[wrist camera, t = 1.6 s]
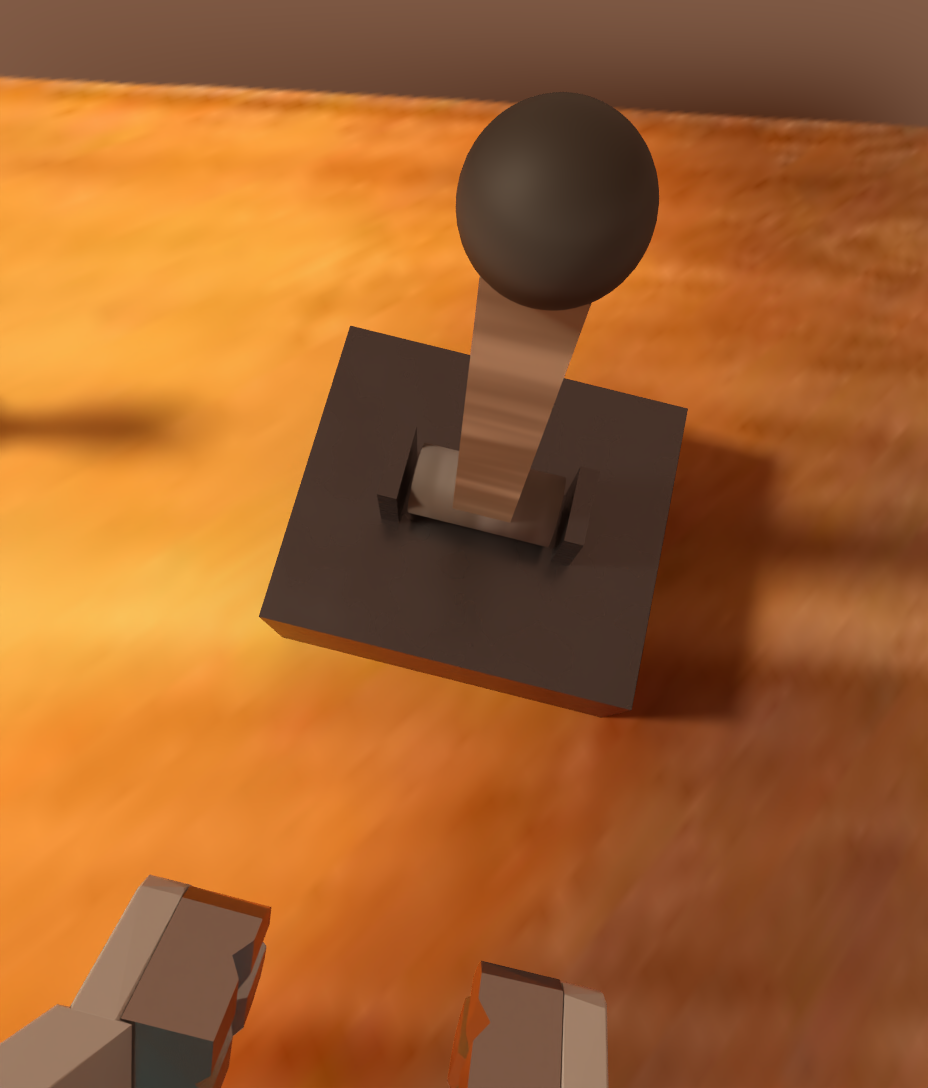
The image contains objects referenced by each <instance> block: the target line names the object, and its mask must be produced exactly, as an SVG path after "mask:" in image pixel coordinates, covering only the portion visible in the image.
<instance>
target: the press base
mask: <svg viewBox="0 0 928 1088" xmlns="http://www.w3.org/2000/svg"><path fill="white" fill-rule="evenodd" d="M469 363H470V355H467V354H463V353H459V352H455V351H451V350H447V349H443V348H439V347H435V346H431V345H427V344H423V343H418V342H414V341H410V340H406V339H402V338H398V337H394V336H390V335H386V334H382V333H378V332H374V331H370V330H366V329H362V328H357V327H353V326H350V328H349V332H348V335H347V338H346V341H345V344H344V348H343V351H342V354H341V357H340V360H339V363H338V367H337V370H336V373H335V376H334V379H333V383H332V386H331V389H330V392H329V395H328V398H327V402H326V405H325V408H324V411H323V414H322V417H321V421H320V424H319V427H318V430H317V433H316V437H315V440H314V443H313V446H312V449H311V452H310V456H309V459H308V462H307V465H306V468H305V472H304V475H303V478H302V481H301V484H300V487H299V491H298V494H297V497H296V500H295V503H294V507H293V510H292V513H291V516H290V519H289V522H288V526H287V529H286V532H285V535H284V538H283V541H282V545H281V548H280V551H279V554H278V557H277V561H276V564H275V567H274V570H273V573H272V576H271V580H270V583H269V586H268V589H267V592H266V596H265V599H264V602H263V605H262V608H261V611H260V615H259V617H260V618H261V619H262V620H263V621H265V622H266V623H267V624H268V625H269V626H270V627H271V628H273V629H274V630H275V631H276V632H277V633H278V634H279V635H281V636H282V637H284V638H288V639H292V640H296V641H300V642H304V643H308V644H312V645H316V646H320V647H324V648H328V649H331V650H335V651H339V652H343V653H347V654H351V655H355V656H359V657H363V658H367V659H371V660H375V661H379V662H383V663H387V664H391V665H395V666H399V667H403V668H407V669H411V670H415V671H419V672H423V673H427V674H431V675H435V676H439V677H443V678H447V679H451V680H455V681H459V682H462V683H466V684H470V685H474V686H478V687H482V688H486V689H490V690H494V691H498V692H502V693H506V694H510V695H514V696H518V697H522V698H526V699H530V700H534V701H538V702H542V703H546V704H550V705H554V706H558V707H562V708H566V709H570V710H574V711H578V712H582V713H586V714H590V715H594V716H597V717H605V716H609V715H614V714H618V713H622V712H626V711H631V710H632V705H633V699H634V694H635V689H636V683H637V678H638V673H639V667H640V662H641V657H642V651H643V646H644V641H645V635H646V630H647V625H648V619H649V614H650V608H651V603H652V598H653V592H654V587H655V582H656V576H657V571H658V566H659V560H660V555H661V550H662V544H663V539H664V534H665V528H666V523H667V518H668V512H669V507H670V501H671V496H672V491H673V485H674V480H675V475H676V469H677V464H678V459H679V453H680V448H681V443H682V437H683V432H684V427H685V421H686V416H687V411H688V409H687V408H683V407H679V406H675V405H671V404H667V403H663V402H659V401H654V400H650V399H646V398H642V397H638V396H634V395H630V394H626V393H622V392H618V391H614V390H610V389H606V388H602V387H598V386H593V385H589V384H585V383H581V382H577V381H573V380H569V379H565V378H564V379H563V381H562V384H561V387H560V389H559V392H558V395H557V398H556V400H555V403H554V406H553V408H552V411H551V414H550V416H549V419H548V422H547V425H546V427H545V430H544V433H543V435H542V438H541V441H540V444H539V446H538V449H537V452H536V454H535V457H534V460H533V462H532V465H531V468H530V469H534V470H538V471H542V472H546V473H550V474H554V475H558V476H562V477H566V484H565V490H564V496H563V500H562V505H561V509H560V513H559V517H558V521H557V524H556V528H555V531H554V534H553V537H552V540H551V542H550V545H549V546H548V547H544V546H540V545H536V544H532V543H528V542H524V541H520V540H516V539H512V538H508V537H504V536H500V535H496V534H492V533H488V532H484V531H480V530H476V529H472V528H468V527H464V526H460V525H456V524H452V523H448V522H444V521H440V520H436V519H432V518H428V517H424V516H420V515H416V514H412V513H408V501H409V496H410V490H411V486H412V481H413V477H414V473H415V469H416V465H417V462H418V458H419V455H420V452H421V449H422V447H423V445H424V443H429V444H433V445H437V446H441V447H445V448H449V449H453V450H457V451H459V448H460V440H461V431H462V423H463V414H464V406H465V397H466V389H467V380H468V372H469Z"/></svg>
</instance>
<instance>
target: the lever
mask: <svg viewBox="0 0 928 1088" xmlns="http://www.w3.org/2000/svg"><path fill="white" fill-rule="evenodd" d="M658 206H659V187H658V179H657V173H656V169H655V166H654V162H653V159H652V156H651V153H650V151H649V149H648V147H647V145H646V143H645V141H644V140H643V138H642V137H641V135H640V134H639V132H638V131H637V129H636V128H635V127H634V126H633V124H632V123H631V122H630V121H629V120H628V119H627V118H626V117H624V116H623V115H622V114H621V113H620V112H618V111H617V110H616V109H614V108H613V107H611V106H610V105H608V104H606V103H604V102H603V101H600V100H598V99H595V98H593V97H590V96H586V95H583V94H578V93H569V92H556V93H555V92H554V93H547V94H542V95H538V96H534V97H530V98H528V99H525V100H523V101H520V102H518V103H517V104H515V105H513V106H511V107H510V108H508V109H506V110H505V111H504V112H502V113H501V114H499V115H498V116H497V117H496V118H495V119H494V120H493V121H492V122H491V123H490V124H489V125H488V126H487V127H486V128H485V129H484V130H483V131H482V133H481V134H480V135H479V136H478V138H477V139H476V141H475V142H474V144H473V146H472V148H471V149H470V151H469V153H468V155H467V157H466V160H465V162H464V165H463V168H462V170H461V173H460V177H459V182H458V187H457V194H456V217H457V226H458V230H459V234H460V238H461V242H462V245H463V247H464V250H465V252H466V254H467V256H468V258H469V260H470V262H471V263H472V265H473V267H474V268H475V270H476V271H477V272H478V274H479V275H480V279H479V287H478V296H477V304H476V313H475V321H474V330H473V338H472V347H471V355H470V363H469V372H468V380H467V389H466V397H465V406H464V414H463V423H462V431H461V440H460V448H459V451H457V450H453V449H449V448H445V447H441V446H437V445H433V444H429V443H424V445H423V447H422V449H421V452H420V455H419V458H418V462H417V465H416V469H415V473H414V477H413V481H412V486H411V490H410V496H409V501H408V513H412V514H416V515H420V516H424V517H428V518H432V519H436V520H440V521H444V522H448V523H452V524H456V525H460V526H464V527H468V528H472V529H476V530H480V531H484V532H488V533H492V534H496V535H500V536H504V537H508V538H512V539H516V540H520V541H524V542H528V543H532V544H536V545H540V546H544V547H548V546H549V545H550V542H551V540H552V537H553V534H554V531H555V528H556V524H557V521H558V517H559V513H560V509H561V505H562V500H563V496H564V490H565V484H566V477H562V476H558V475H554V474H550V473H546V472H542V471H538V470H534V469H530V468H531V465H532V462H533V460H534V457H535V454H536V452H537V449H538V446H539V444H540V441H541V438H542V435H543V433H544V430H545V427H546V425H547V422H548V419H549V416H550V414H551V411H552V408H553V406H554V403H555V400H556V398H557V395H558V392H559V389H560V387H561V384H562V381H563V379H564V376H565V373H566V371H567V368H568V365H569V362H570V360H571V357H572V354H573V352H574V349H575V346H576V343H577V341H578V338H579V335H580V333H581V330H582V327H583V325H584V322H585V319H586V316H587V314H588V311H589V308H590V306H591V303H592V302H594V301H596V300H598V299H600V298H602V297H603V296H605V295H607V294H608V293H610V292H611V291H613V290H614V289H615V288H616V287H618V286H619V285H620V284H621V283H622V282H623V281H624V280H625V279H626V278H627V277H628V276H629V275H630V274H631V272H632V271H633V270H634V269H635V268H636V266H637V265H638V263H639V262H640V260H641V259H642V257H643V255H644V253H645V252H646V250H647V248H648V245H649V243H650V241H651V238H652V235H653V232H654V228H655V225H656V221H657V214H658Z"/></svg>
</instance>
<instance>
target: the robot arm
mask: <svg viewBox="0 0 928 1088" xmlns="http://www.w3.org/2000/svg"><path fill="white" fill-rule="evenodd" d="M270 914H271V907H269V906H265V905H261V904H258V903H254V902H250V901H246V900H242V899H239V898H235V897H231V896H227V895H224V894H220V893H216V892H212V891H208V890H205V889H201V888H197V887H193V886H192V885H189V884H185V883H181V882H177V881H173V880H169V879H165V878H161V877H157V876H153V875H149V876H148V877H147V878H146V879H145V880H144V881H143V883H142V884H141V885H140V886H139V887H138V888H137V890H136V892H135V894H134V896H133V897H132V899H131V901H130V903H129V904H128V906H127V908H126V910H125V911H124V913H123V915H122V917H121V918H120V920H119V922H118V924H117V925H116V927H115V929H114V931H113V932H112V934H111V936H110V938H109V939H108V941H107V943H106V945H105V946H104V948H103V950H102V952H101V953H100V955H99V957H98V959H97V960H96V962H95V964H94V966H93V968H92V969H91V971H90V973H89V975H88V976H87V978H86V980H85V982H84V983H83V985H82V987H81V989H80V990H79V992H78V994H77V996H76V997H75V999H74V1001H73V1003H72V1004H71V1006H70V1007H68V1006H63V1005H59V1004H57V1005H55V1006H54V1007H53V1008H51V1009H50V1010H48V1011H47V1012H45V1013H44V1014H42V1015H41V1016H39V1017H38V1018H37V1019H35V1020H34V1021H32V1022H31V1023H29V1024H28V1025H26V1026H25V1027H24V1028H22V1029H21V1030H19V1031H18V1032H16V1033H15V1034H13V1035H12V1036H10V1037H9V1038H8V1039H6V1040H5V1041H3V1042H2V1043H0V1088H221V1086H222V1083H223V1081H224V1078H225V1075H226V1073H227V1070H228V1067H229V1061H230V1053H231V1046H232V1038H233V1035H235V1034H236V1033H237V1032H238V1031H240V1030H241V1029H242V1028H243V1027H244V1024H245V1021H246V1019H247V1016H248V1013H249V1010H250V1008H251V1005H252V1002H253V999H254V995H255V992H256V989H257V986H258V982H259V979H260V976H261V972H262V967H263V963H264V959H265V952H266V945H265V944H264V942H263V940H264V937H265V935H266V932H267V929H268V927H269V924H270ZM447 1082H448V1084H449V1087H450V1088H608V1046H607V1004H606V1001H605V998H604V995H603V993H602V992H601V991H599V990H595V989H591V988H587V987H583V986H579V985H575V984H571V983H566V982H562V981H560V980H559V979H555V978H551V977H547V976H542V975H538V974H534V973H530V972H526V971H521V970H517V969H513V968H509V967H505V966H501V965H496V964H492V963H488V962H484V961H481V962H480V963H479V964H478V966H477V968H476V971H475V974H474V976H473V982H472V990H471V996H469V997H467V998H465V1001H464V1004H463V1008H462V1011H461V1014H460V1017H459V1021H458V1025H457V1029H456V1033H455V1037H454V1042H453V1048H452V1054H451V1060H450V1066H449V1073H448V1079H447Z"/></svg>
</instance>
